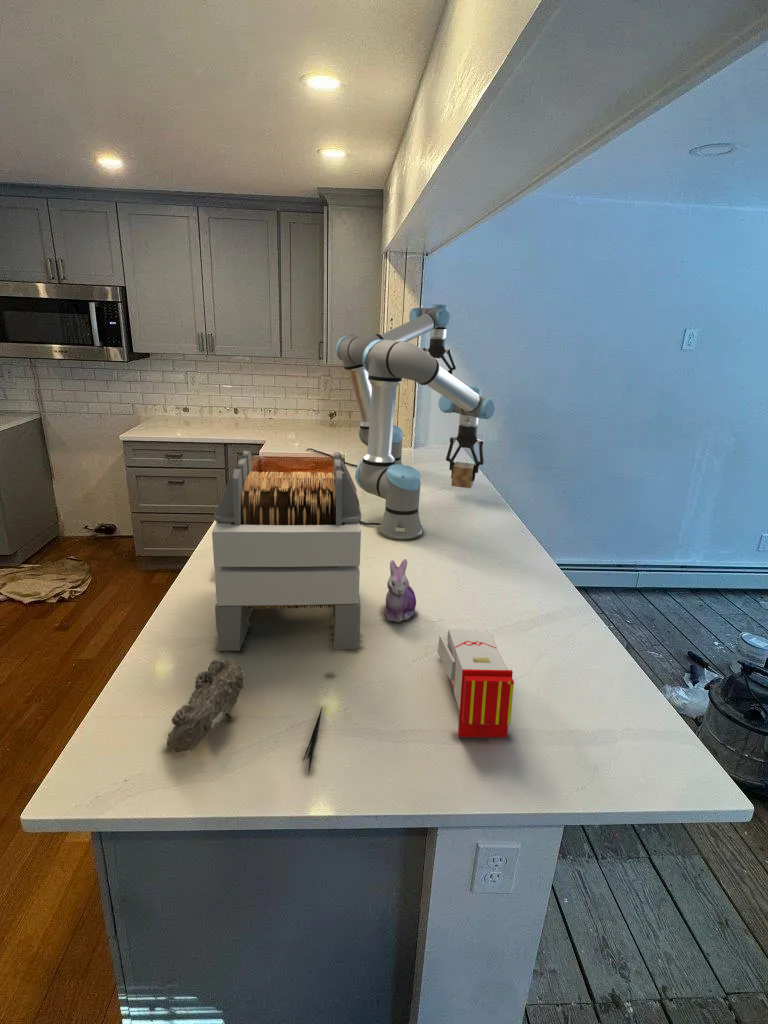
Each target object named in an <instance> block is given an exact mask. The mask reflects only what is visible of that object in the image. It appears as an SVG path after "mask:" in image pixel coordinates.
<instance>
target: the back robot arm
mask: <svg viewBox="0 0 768 1024" xmlns="http://www.w3.org/2000/svg"><path fill="white" fill-rule="evenodd" d="M408 315H409V316H408V319H409V321H407V322H405V323H403V324H401V325H398V326H397V327H394V328H392V329H389V330H388V331H386V332H384V333H382V334H380V333H376V334H374V335H371V336H358V335H354V334H348V335H344V336H341V337H340V338H339V339H338V341H337V342H336V345H335V355H336V356H337V358H338V359H339V360H340V361H341V362H342V365H343V369H344V370H345V371H346V372H347V373H348V375H349V378H350V379H349V380H350V382H351V383H350V384H351V386H352V390H353V393H354V397H355V401H356V405H357V409H358V412H359V416H360V419H361V420H360V421H359V429H358V438H359V440H360V441H361V443H362V444H364V445H365V446H367V447H368V437H369V422H370V407H371V393H372V384H371V383H370V381H369V380H368V372H367V371H366V369H365V367H364V366H363V360H362V359H363V353H364V351H365V349H366V347H367V346H368V345H369V344H370V343H371V342H372V341H375V340H382V339H386V340H393V341H401V342H410V341H412V340H415V339H416V338H419V337H420V336H423V335H424V334H426V333H428V332H430V335H429V337H430V338H429V346H428V348H427V347H423V348H422V350H424V351H425V352H427V353H428V354H429V355H431V356H432V357H434V358H435V359H441V360H442V362H444V364H445V365H446V367H447V369H448V370H447V372H449V373H450V374H451V375H453V373H454V372H453V371H455V370H457V368H458V367H457V365H456V362H455V360H454V357H453V354H452V349H450V348H449V349H446V339H445V338H446V337H447V326H448V325H449V324H450V322H451V313H450V312H449V310H448V305H447V304H437V303H435V304H432V306H431V308H430V307H413V308H411V309H410V311H409V314H408ZM445 354H447V356H448V358H449V361H450V362H449V361H448V360H447V358H446V356H445ZM403 435H404V433H403V430H402V428H401V427H399V426H397V425H395V424H394V427H393V439H392V451H391V455H392V456H393V457H394V458H395V465H396V464H401V465H403V462H402V451H403V440H404V436H403ZM305 451H307V452H308V451H313V452H315V453H319V454H323V455H326V456H328V457H330V458H332V459H334V455H331V454H330V453H326V452H323V451H320V450H317V449H314V448H311V447H309V448H307V449H306V450H305ZM344 463H345V465H349V466H352V467H356V468H357V466H358V465H357V464H353V463H349V462H347V461H344Z"/></svg>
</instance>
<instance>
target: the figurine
mask: <svg viewBox="0 0 768 1024" xmlns="http://www.w3.org/2000/svg"><path fill="white" fill-rule="evenodd" d="M407 567H408V559H406V558H404V559H403V560H402V561H401V563H400V565H399V566H398V565H397V563H396V562H395V561H394V560H393V559H391V560H390V561H389V570H390V576H389V578H388V579H387V589H388V591H387V592H386V594H385V595H386V596H385V607H384V615H385V616H386V620H387V621H391V622H395V623H400V622H402V621H406V620H409V619H410V618H411V617H413V616H414V615H415V610H416V606H417V597H416V593H415V591H414V590H413V587H411V586H410V582H409V579H408V577H407V574H406V571H407Z"/></svg>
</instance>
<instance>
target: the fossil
mask: <svg viewBox="0 0 768 1024" xmlns="http://www.w3.org/2000/svg"><path fill="white" fill-rule="evenodd" d="M243 670H244V669H243V667H242V665H240V664H237V662H236V661H235V660H234V659H232V658H231V659H227V658H226V659H224V660H223V661H222V660H217V659H212V660H211V661H210V663H209V665H208V666H207V671H201V672H199V673H198V674H197V675H196V676H195V680H194V684H195V685H194V687H195V689H194V690H193V693H192V694H191V697H190V698H189V700H188V704H184V705H182V706H181V707H180V709H177V710H176V711H175V713H174V715H173V716H172V718H171V723H172V724H173V727H172V730H171V731H170V732H168V734H167V738H166V741H167V742H166V745H167V749H168V750H169V751H173V752H174V753H176V754H178V753H182V752H188V751H189V752H192V751H193V750H195V748H196V747H197V746H199V744H200V743H201V742H203V741H204V740H205V739H206V738H207V737H208V736H209V735H210V734H211V733H212V732H214V730H215V729H217V727H218V726H219V724H220V722H221V721H222V720H223V719H224V718H225V716H226V717H227V719H229V720H233V717H232V715H230V714H229V710H230V709H231V708H234V706H235V704H236V703H237V702H238V699H239V697H240V695H241V693H242V691H243V690H245V689H244V688H245V675H244V671H243Z"/></svg>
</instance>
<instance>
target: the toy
mask: <svg viewBox="0 0 768 1024" xmlns="http://www.w3.org/2000/svg"><path fill="white" fill-rule="evenodd" d="M446 640H447V643H446V641H445V639H444V636H443V635H442V634H439V637H438V646H437V656H438V657H439V659H440V661H441V663H442V666H443V668H444V670H445V672H446V674H447V677H448V679H449V681H450V684H451V687H452V690H453V693H454V697H455V701H456V705H457V708H458V711H459V714H458V715H459V716H458V730H457V731H458V732H457V737H458V738H508V731H509V726H510V725H511V717H512V707H513V697H514V696H513V695H514V684H515V680H514V679H513V673H514V671H513V670H512V669H508V667H507V665H506V662H505V661H504V659H503V658H502V655H501V653H500V651H499V649H498V647H497V643H496V639H495V637H494V635H493V634H491V632H490V631H489V629H467V628H466V629H465V628H463V629H461V628H460V629H459V628H448V630H447V639H446Z"/></svg>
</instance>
